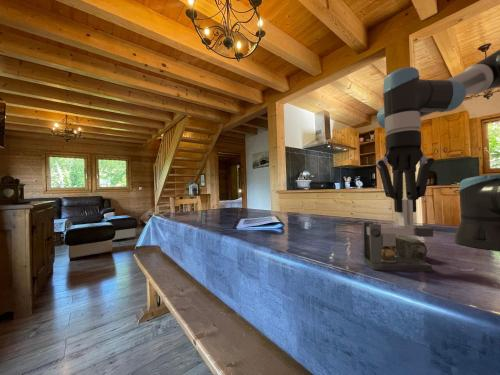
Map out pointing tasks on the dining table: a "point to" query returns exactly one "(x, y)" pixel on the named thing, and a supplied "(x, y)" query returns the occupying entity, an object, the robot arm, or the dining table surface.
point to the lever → (402, 233)
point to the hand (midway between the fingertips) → (405, 225)
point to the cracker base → (377, 254)
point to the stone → (409, 247)
